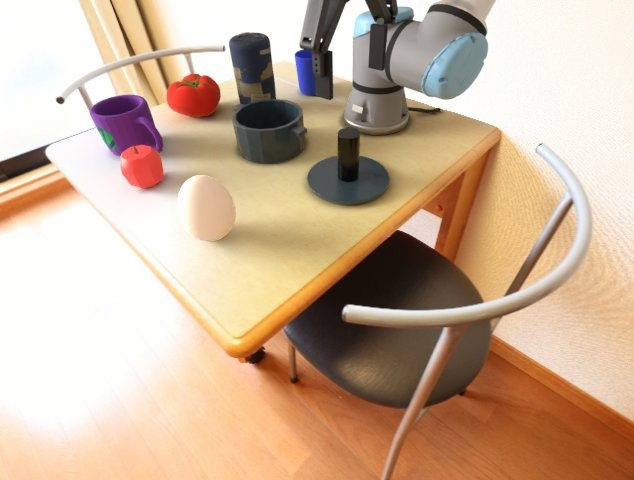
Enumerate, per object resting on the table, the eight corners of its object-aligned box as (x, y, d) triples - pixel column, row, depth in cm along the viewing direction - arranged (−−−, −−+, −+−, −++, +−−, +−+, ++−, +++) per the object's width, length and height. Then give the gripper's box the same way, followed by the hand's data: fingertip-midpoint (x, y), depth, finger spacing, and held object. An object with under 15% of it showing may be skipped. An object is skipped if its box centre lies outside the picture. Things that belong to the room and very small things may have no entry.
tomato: (186, 131, 88) (175, 95, 82) (165, 114, 95) (154, 79, 89) (236, 113, 94) (229, 78, 88) (213, 98, 101) (205, 65, 95)
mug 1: (99, 151, 83) (77, 109, 76) (141, 130, 89) (125, 89, 82) (147, 174, 75) (127, 129, 68) (189, 150, 82) (175, 106, 75)
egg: (225, 211, 66) (209, 155, 58) (250, 236, 61) (237, 179, 53) (180, 233, 62) (156, 177, 54) (203, 262, 57) (181, 204, 49)
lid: (340, 151, 79) (341, 105, 72) (404, 176, 71) (411, 128, 64) (291, 185, 71) (285, 137, 63) (356, 218, 63) (359, 167, 56)
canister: (256, 98, 100) (244, 24, 88) (284, 104, 97) (277, 28, 84) (233, 112, 95) (217, 35, 82) (263, 119, 91) (251, 40, 78)
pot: (264, 121, 90) (260, 90, 85) (327, 146, 81) (326, 113, 76) (217, 145, 83) (209, 113, 78) (281, 176, 73) (276, 142, 68)
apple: (121, 182, 74) (104, 146, 68) (158, 166, 78) (144, 131, 72) (139, 198, 70) (121, 162, 64) (176, 180, 73) (163, 144, 68)
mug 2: (339, 84, 105) (339, 46, 98) (316, 100, 98) (315, 60, 91) (314, 79, 108) (313, 42, 102) (291, 94, 101) (288, 55, 94)
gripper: (386, -107, 51) (376, 54, 66) (255, -92, 38) (279, 104, 53) (435, -109, 48) (413, 62, 63) (309, -93, 35) (319, 118, 50)
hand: (352, 82), depth 58 cm, fingers open, 13 cm apart
